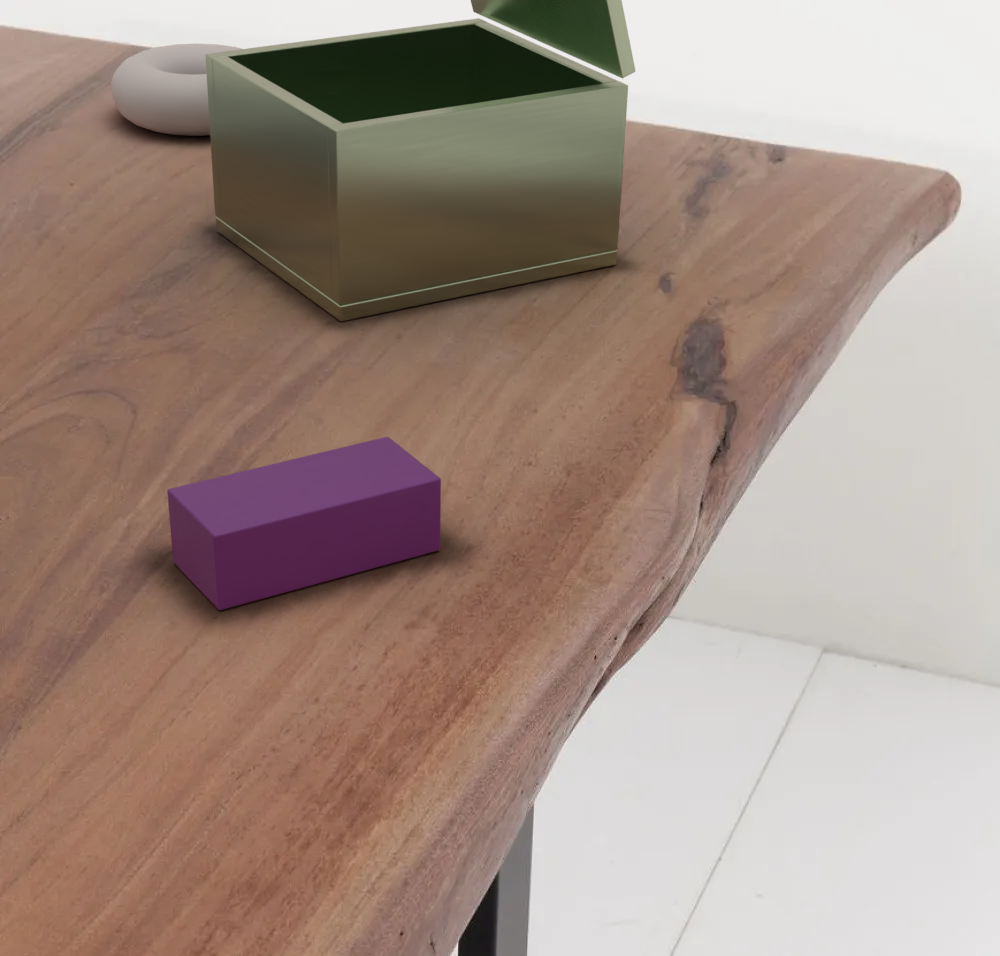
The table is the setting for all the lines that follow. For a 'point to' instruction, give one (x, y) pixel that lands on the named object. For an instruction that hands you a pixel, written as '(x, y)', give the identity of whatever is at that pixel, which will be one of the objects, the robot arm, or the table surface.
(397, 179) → the green metal box
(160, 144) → the table surface
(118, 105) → the donut
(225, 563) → the purple rectangular block
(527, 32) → the green box lid
